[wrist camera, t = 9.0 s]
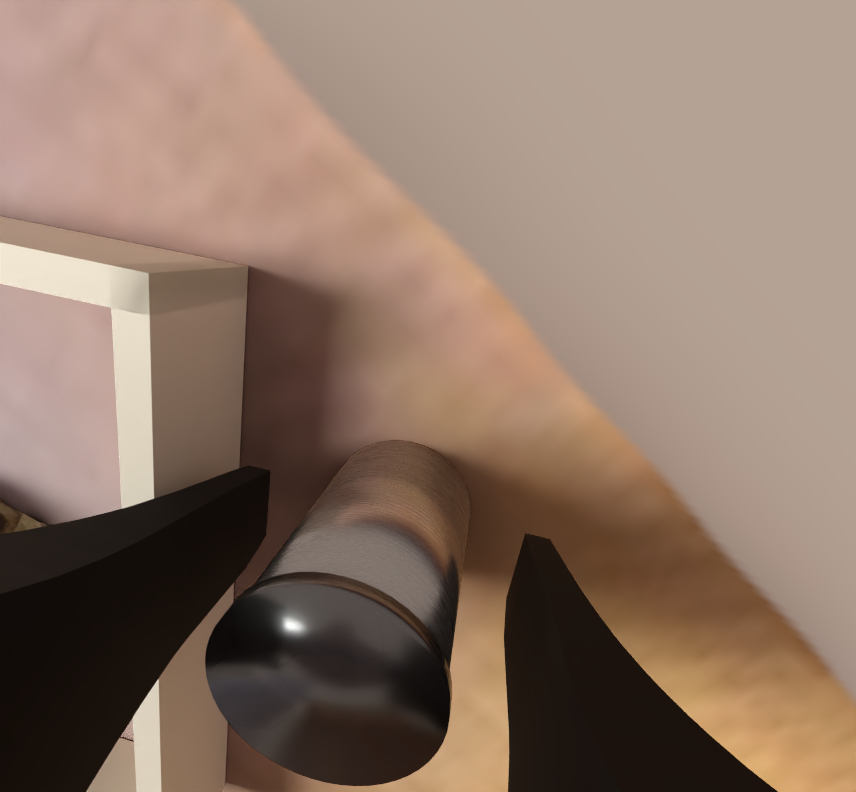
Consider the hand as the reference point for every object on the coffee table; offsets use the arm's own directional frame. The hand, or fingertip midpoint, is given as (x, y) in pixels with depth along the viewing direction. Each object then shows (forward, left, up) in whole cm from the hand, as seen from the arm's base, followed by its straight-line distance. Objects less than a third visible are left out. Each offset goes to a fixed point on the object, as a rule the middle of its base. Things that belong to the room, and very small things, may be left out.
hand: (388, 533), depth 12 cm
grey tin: (0, 0, -1) cm, 1 cm away
